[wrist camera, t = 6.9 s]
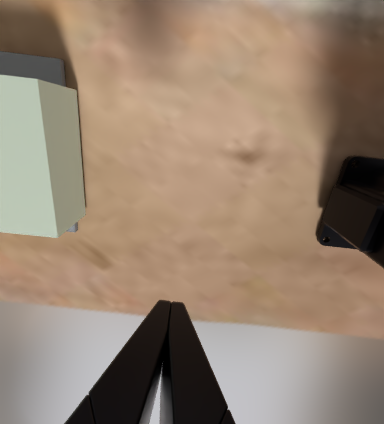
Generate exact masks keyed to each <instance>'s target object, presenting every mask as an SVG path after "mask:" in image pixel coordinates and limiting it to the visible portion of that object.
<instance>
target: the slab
mask: <svg viewBox="0 0 384 424" xmlns="http://www.w3.org/2000/svg"><path fill="white" fill-rule="evenodd" d="M85 215H86V212H85V198H84V185H83V171H82V158H81V144H80V131H79V117H78V104H77V90H75V89H71V88H68V87H64V86H60V85H57V84H53V83H50V82H46V81H42V80H39V79H33V78H24V77H16V76H8V75H0V232H5V233H15V234H25V235H34V236H44V237H54V238H58V237H59V236H61V235H62V234H63V233H64V232H66V231H67V230H68V229H69V228H70V227H72V226H73V225H74V224H75V223H76V222H78V221H79V220H80V219H81V218H82V217H84V216H85Z"/></svg>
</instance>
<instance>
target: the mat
mask: <svg viewBox="0 0 384 424" xmlns="http://www.w3.org/2000/svg"><path fill="white" fill-rule="evenodd" d="M0 75H8V76H16V77H24V78H33V79H39V80H42V81H46V82H50V83H53V84H57V85H60V86H64V87H66V83H65V71H64V61H63V60H61V59H57V58H50V57H42V56H34V55H26V54H18V53H11V52H3V51H0ZM77 230H78V225H77V222H76V223H75V224H74V225H73V226H72V227H70V228H69V229H68V230H67V231H68V232H76V231H77Z"/></svg>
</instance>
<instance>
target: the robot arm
mask: <svg viewBox="0 0 384 424" xmlns="http://www.w3.org/2000/svg"><path fill="white" fill-rule="evenodd" d="M353 161H355V165H354V166H352V167H351V164H352V162H353ZM322 220H323V221H322V224H321V227H320V230H319V232H318V235H317V241H318V242H319V243H320V244H321V245H324V246H332V247H341V248H351V249H358V250H359V251H361V252H363V253H364V254H366V255H367V256H368V257H369V258H371V259H372V260H373V261H375V262H376V263H377V264H379V265H380V266H381V267H382V268H384V159H380V158H371V157H363V156H355V155H353V156H349V157H348V158H346V159H345V161H344V163H343V166H342V169H341V172H340V174H339V177H338V180H337V183H336V185H335V187H334V188H333V190H332V193H331V196H330V199H329V202H328V204H327V207H326V210H325V213H324V215H323V218H322ZM325 237H327V238H326V239H325V240H323V239H324V238H325ZM162 364H163V365H162ZM161 370H162V373H161ZM160 376H161V395H160V424H235V421H234V419H233V417H232V414H231V412H230V410H227V409H228V406H227V403H226V401H225V399H224V396H223V394H222V391H221V389H220V387H219V384H218V382H217V380H216V377H215V375H214V373H213V370H212V368H211V366H210V364H209V361H208V359H207V356H206V354H205V352H204V349H203V347H202V345H201V342H200V340H199V338H198V335H197V333H196V331H195V328H194V326H193V324H192V321H191V319H190V317H189V314H188V312H187V310H186V307H185V305H184V303H182V302H174V301H173V302H172V303H171V302H170V301H166V300H159V301H158V302H157V303H156V305H155V306H154V307H153V309H152V310H151V311H150V313H149V314H148V315H147V316H146V318H145V319H144V320H143V322H142V323H141V324H140V326H139V327H138V328H137V330H136V331H135V332H134V334H133V335H132V336H131V338H130V339H129V340H128V342H127V343H126V344H125V345H124V347H123V348H122V350H121V351H120V352H119V353H118V355H117V356H116V357H115V359H114V360H113V361H112V362H111V364H110V365H109V366H108V368H107V369H106V370H105V372H104V373H103V374H102V376H101V377H100V378H99V380H98V381H97V382H96V384H95V385H94V386H93V388H92V389H91V390H90V391H89V395H86V396H85V398H84V399H83V400H82V402H81V403H80V404H79V406H78V407H77V408H76V409H75V411H74V412H73V413H72V415H71V416H70V417H69V418H68V420H67V421H66V422H65V423H64V424H149V422H150V417H151V413H152V409H153V405H154V401H155V397H156V393H157V389H158V385H159V380H160Z"/></svg>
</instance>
